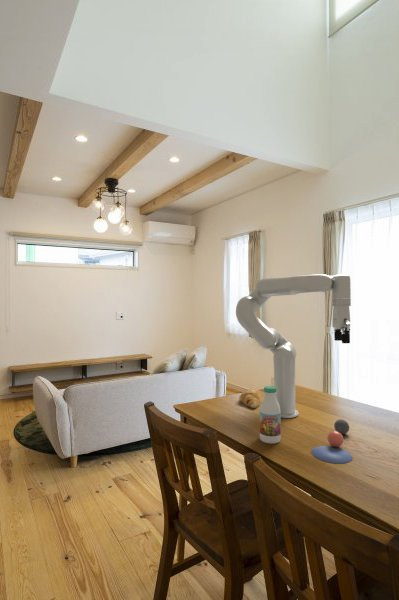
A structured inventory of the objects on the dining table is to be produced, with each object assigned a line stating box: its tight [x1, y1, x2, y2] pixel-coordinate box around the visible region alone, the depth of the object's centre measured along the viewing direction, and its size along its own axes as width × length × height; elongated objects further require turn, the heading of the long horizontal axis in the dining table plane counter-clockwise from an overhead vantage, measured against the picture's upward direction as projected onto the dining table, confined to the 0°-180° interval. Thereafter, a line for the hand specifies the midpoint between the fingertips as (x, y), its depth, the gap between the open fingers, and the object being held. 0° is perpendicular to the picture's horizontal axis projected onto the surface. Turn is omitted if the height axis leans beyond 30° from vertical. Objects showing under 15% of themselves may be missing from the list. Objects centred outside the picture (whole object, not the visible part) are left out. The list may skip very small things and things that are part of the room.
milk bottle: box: [259, 385, 282, 445], centre depth 131 cm, size 8×8×20 cm
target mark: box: [311, 445, 353, 465], centre depth 119 cm, size 13×13×1 cm
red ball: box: [326, 430, 345, 448], centre depth 125 cm, size 6×6×6 cm
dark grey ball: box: [333, 418, 350, 435], centre depth 137 cm, size 6×6×6 cm
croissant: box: [238, 389, 261, 409], centre depth 177 cm, size 21×10×8 cm, turn 6°
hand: (341, 341), depth 152 cm, fingers open, 9 cm apart
